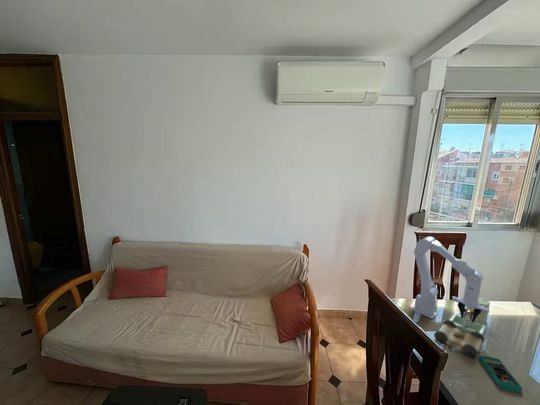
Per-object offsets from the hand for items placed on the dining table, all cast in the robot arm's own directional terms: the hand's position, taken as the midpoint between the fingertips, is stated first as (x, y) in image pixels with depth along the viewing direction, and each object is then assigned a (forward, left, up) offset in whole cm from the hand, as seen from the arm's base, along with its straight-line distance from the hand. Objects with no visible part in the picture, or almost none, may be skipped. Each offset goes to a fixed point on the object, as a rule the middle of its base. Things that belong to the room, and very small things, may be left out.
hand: (467, 319), depth 123 cm
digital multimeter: (+15, -24, -7) cm, 29 cm away
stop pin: (0, -1, -4) cm, 4 cm away
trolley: (0, -14, -6) cm, 15 cm away
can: (+1, +16, -6) cm, 17 cm away
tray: (0, 0, -6) cm, 6 cm away
